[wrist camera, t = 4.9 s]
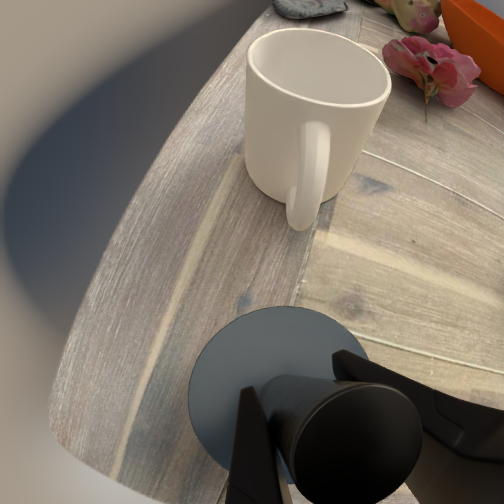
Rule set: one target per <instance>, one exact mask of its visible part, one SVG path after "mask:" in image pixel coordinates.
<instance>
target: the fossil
mask: <svg viewBox="0 0 504 504" xmlns="http://www.w3.org/2000/svg"><path fill="white" fill-rule="evenodd" d="M273 6H274V7H275V8H276V11H277V12H278V13H279V14H280V15H282V16H284V17H286V18H293V19H302V18H309V17H316V16H323V15H328V14H332V13H335V12H341V11H347V10H350V8H349V7H348V6H347V5H346V4H345V3H344V0H273Z"/></svg>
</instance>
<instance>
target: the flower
mask: <svg viewBox="0 0 504 504" xmlns="http://www.w3.org/2000/svg"><path fill="white" fill-rule="evenodd" d="M382 54H383V57H384V62H385V63H386V65H387V66H388V67H389V68H390V69H392V70H393V71H394V72H396V73H398V74H401V75H403V76H406V77H408V78H411V79H413V80H414V81H415V82H416V84H417V86H418V87H419V88H421V89H423V90H424V94H425V105H427V103H428V102H429V99H431V98H432V97H433V96H434V95H435V94H436V93H437V94H438V97H439V99H440V100H441V102H442V103H443V104H445V105H446V106H448V107H450V108H455V107H458V106H460V105H462V104H463V103H464V102H466V101H467V100H468V99H469V98H470V96H471V95H472V93H473V91H474V89H475V88H476V87H478V85H472V84H471V81H472V80H474V79H475V78H477V77H479V75H480V73H481V70H480V68H479V67H478V66H477V65H476V64H475V63H474V61H473V58H471V57H469V56H467V55H461V54H460V53H459V52H458V51H457V50H456V49H450V48H449V47H448V46H447V45H444V44H442V43H438V44H437V45H434V44H430V43H429V42H428V41H427V39H425V38H423V37H420V36H412V37H409V38H407V37H404V38H403V39H402V40H401V42H400V41H398V40H396V39H395V40H391V41H390V42H389V43H388V44H385V46H384V48H383V49H382ZM426 123H427V113H426Z"/></svg>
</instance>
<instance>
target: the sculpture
mask: <svg viewBox="0 0 504 504" xmlns="http://www.w3.org/2000/svg"><path fill="white" fill-rule="evenodd" d="M374 1H375V2H376V3H378V4H379V5H380V6H381V7H383V8H384V9H385V10H386V11H387V12H388V13H389V14H391V15H396V17H397V19H398V22H399V24H400V26H401V27H402V28H403V29H404V30H406V31H407V32H411V31H413V32H416V33H419V34H427V33H430V32H432V31H433V30H434V29H436V28H437V27H438V25H439V19H438V17H439V16H441V14H442V12H441V0H374Z"/></svg>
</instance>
